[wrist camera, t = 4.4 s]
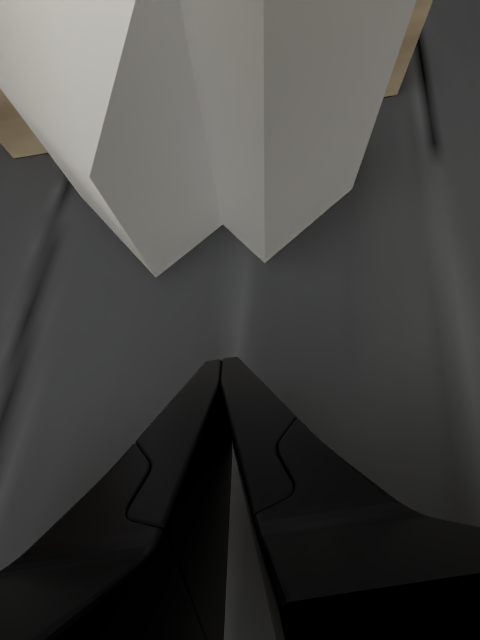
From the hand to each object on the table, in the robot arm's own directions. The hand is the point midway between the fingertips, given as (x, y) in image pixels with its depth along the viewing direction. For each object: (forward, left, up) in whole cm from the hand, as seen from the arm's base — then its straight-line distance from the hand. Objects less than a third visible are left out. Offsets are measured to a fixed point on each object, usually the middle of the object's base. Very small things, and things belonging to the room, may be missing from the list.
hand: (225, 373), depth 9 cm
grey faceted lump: (+8, -8, -7) cm, 14 cm away
